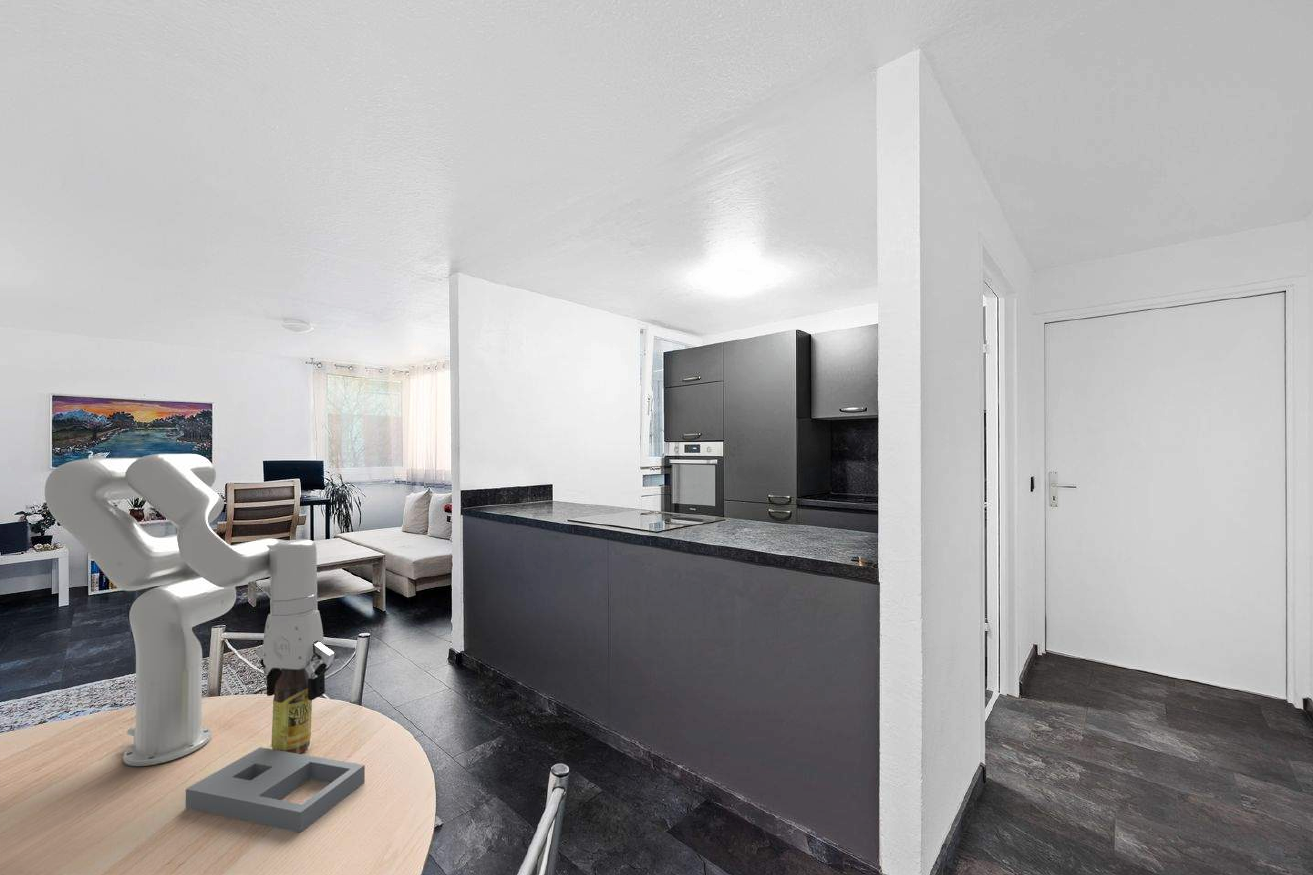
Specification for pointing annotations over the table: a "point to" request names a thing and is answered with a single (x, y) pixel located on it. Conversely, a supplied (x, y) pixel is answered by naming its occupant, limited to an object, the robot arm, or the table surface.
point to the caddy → (274, 788)
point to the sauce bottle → (291, 712)
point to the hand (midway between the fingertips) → (295, 694)
